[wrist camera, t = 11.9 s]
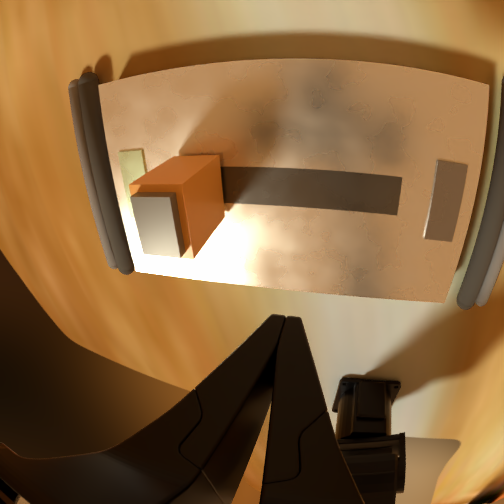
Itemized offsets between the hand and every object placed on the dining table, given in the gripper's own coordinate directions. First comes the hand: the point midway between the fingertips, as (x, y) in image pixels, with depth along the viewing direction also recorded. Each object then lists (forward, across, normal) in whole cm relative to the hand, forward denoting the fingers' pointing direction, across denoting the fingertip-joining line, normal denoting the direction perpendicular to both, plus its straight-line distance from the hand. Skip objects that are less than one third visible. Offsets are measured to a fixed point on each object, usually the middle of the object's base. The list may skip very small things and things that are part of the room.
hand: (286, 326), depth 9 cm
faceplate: (+13, +2, 0) cm, 13 cm away
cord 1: (+13, +16, 0) cm, 21 cm away
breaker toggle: (+11, +7, 0) cm, 13 cm away
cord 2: (+13, -12, 0) cm, 18 cm away
